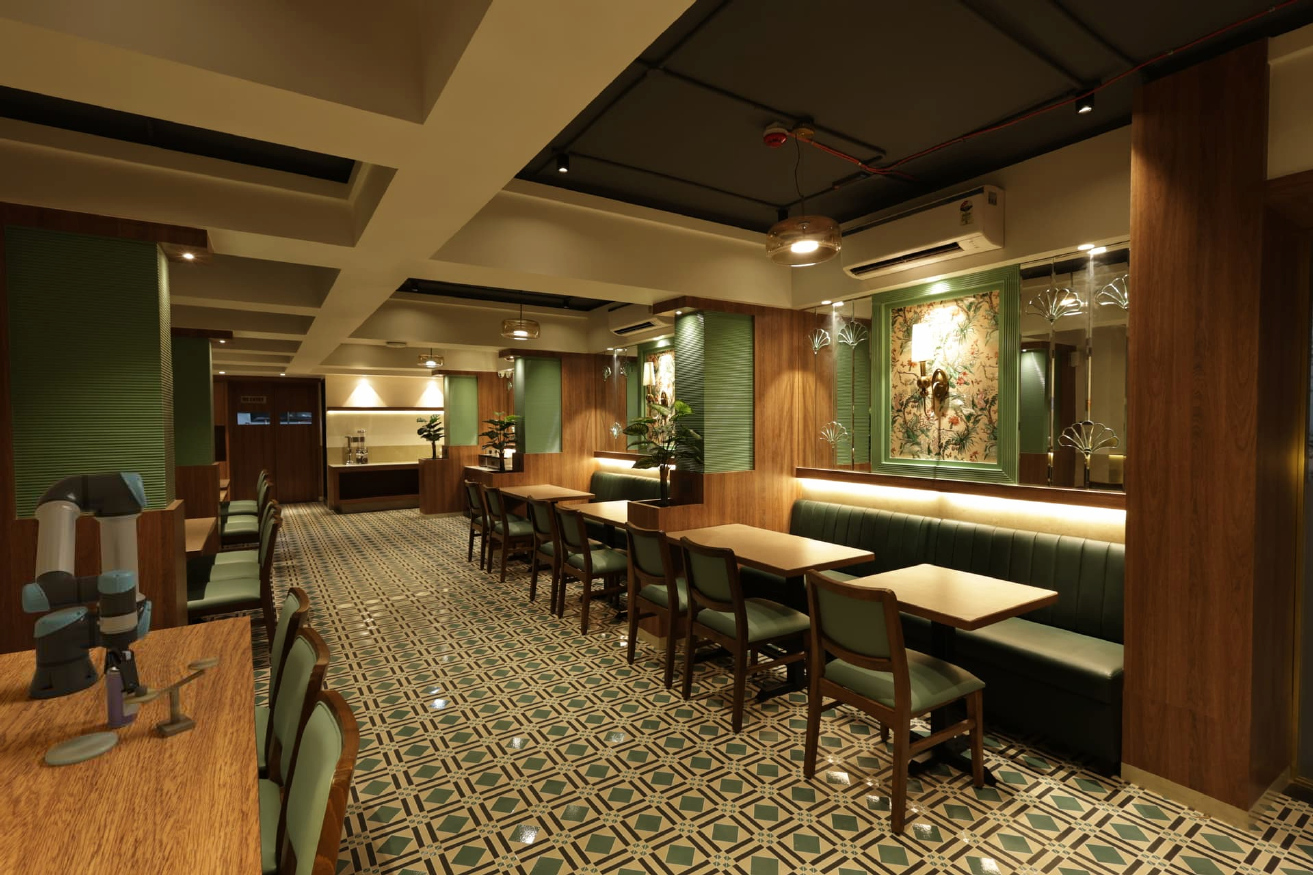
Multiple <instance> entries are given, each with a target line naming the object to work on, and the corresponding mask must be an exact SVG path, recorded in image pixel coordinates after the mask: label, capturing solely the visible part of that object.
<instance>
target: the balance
mask: <svg viewBox="0 0 1313 875" xmlns="http://www.w3.org/2000/svg"><path fill="white" fill-rule="evenodd" d="M220 660H221V659H220V658H218V657H207V658H201V659H198V660H194V661H192V662H190V663H188V665H187V670H188V671H196V672H194V673H193V674H190V675H189V676H187V677H185V678H182V679H181V680H179V681H177V682H174V684H171V685H169V686H168V687H166V688H164V689H162V690H159V689H157V688H148V685H146V684H143V685H140V686H138V687H136V688H135V692H134V693H131V694H129V695H127V696H125V697H124V698H123V703H125V704H135V703H137V704H141V706H143V707H144V706H147V705H149V704H151V703H153V702H154V701H156V700H159V699H160V698H162V697H164V696H165V695H168V697H169V716H170V718H166V719H163V720H159V721H157V722H155V729H156V730H158V732H160V733H161V734H162V735H163V736H165V737H166V738H169V737H172V736H174V735H178V734H179V733H183V732H186V731H188V730H192V729H194V728H195V727H196V721H195V720H193V719H192V718H190V717H189V716H187V715H186V714H185V713H181V709H180V687H182V686H184V685H186V684H188V683H190V682H192V681H194V680H196V679H198V678H199V677H201V676H203V675H205V674H206V672H205V671H206V670H207V669H210V668H214V667H216V666H218V665H219V664H220Z"/></svg>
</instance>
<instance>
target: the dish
mask: <svg viewBox="0 0 1313 875" xmlns="http://www.w3.org/2000/svg"><path fill="white" fill-rule="evenodd" d="M118 742H119V739H118V734H117V733H116V732H112V731H100V732H94V733H89V734H84V735H80V736H78V737H74V738H70V739H68V740H66V741H64V742H61V743H59V744H57V745H56V746H55V745H54V746H53V747H52V748H50V749H49V750H48V751H47V752H46V754H45V755H44V757H45V758H44V762H45V764H46V765H48V766H55V767H57V766H58V767H60V766H69V765H74V764H78V763H81V762H85V761H87V760H90V759H94V758H97V757H98V756H101V755H102V754H105V753H107V752H108V751H110V750H112V749H113V748H114V747H116V745H117V744H118Z"/></svg>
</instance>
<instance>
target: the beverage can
mask: <svg viewBox="0 0 1313 875" xmlns="http://www.w3.org/2000/svg"><path fill="white" fill-rule="evenodd" d="M105 683H106V684H105V686H106V687H105V688H106V708H107V712H106V713H107V725H108V727H109V728H112V729H117V728H118V729H119V728H122V727H127V726H129V725H132V724H133V723H135V722H136V721H137V719H138V712H137V713H134V714H131V715H128V716H125V717H124V712H123V693H121V690H122V689H124V687H123V684H122V680H121V676H120V672H119V670H118V669H116V667H113V668H110V669H109V670H107V674H105ZM131 685H133V684H131Z"/></svg>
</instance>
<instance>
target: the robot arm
mask: <svg viewBox="0 0 1313 875" xmlns="http://www.w3.org/2000/svg"><path fill="white" fill-rule="evenodd" d="M146 498H147V497H146V493H145V488H144V484H143V479H142V476H141V475H140V474H139V473H137V472H121V471H120V472H109V473H107V472H106V473H96V474H94V473H93V474H75V475H70V476H68V477H65V478H62V479H60V480H58V481H57V482H55V483H53V484H52V485H50V486H49V487H48V488H47V489H46V490H45V491H43V493H42V494H41V495H40V496H39V498H38V500H37V502H36V504H35V508H34V517H35V519H36V520H38V533H37V534H38V536H37V548H36V549H37V551H36V565H35V580H34V582H32V583H29V584H26V585H24V586H23V588H22V592H21V593H22V595H21V597H22V599H21V600H22V602H21V603H22V607H23V608H22V609H23V611H24V612H25V613H38V612H39V613H41V612H48V611H49V612H50V611H53V610H54V612H52V613H49V614H47V615H44V616H42V617H41V618H39V619H38V620H37V621H36V622H35V625H34V634H33V637H34V641H35V642H34V644H35V662H36V663H35V665H36V666H35V667H36V668H35V671H34V673H33V676H32V679H31V681H30V683H29V687H28V695H29V698H32V699H49V698H50V699H51V698H56V697H57V698H58V697H61V696H66V695H69V694H74V693H77V692H80V691H82V690H85V689H89V688H90V687H91V686H94V685H95V684H96V683H97V682H99V672H98V670H97V669H96V667H95V664H94V663H93V660H92V659H91V656H90V650H92V649H96V648H102V649H105V657H104V663H103V664H104V665H103V672H102V673H103V674H104V675H106V674H107V670H109V669H110V668H113V667H116V669H118V670H119V672H120V676H121V680H122V684H123V687H124V689H122V690H121V693H123V698H124V697H125V696H127V695H129V694H131V693H134V692H135V688H136V687H138V686H141V684H140V680H139V674H138V670H137V664H136V660H135V659H136V658H135V654H136V653H135V650H133V649H130V647H129V646H130V645H131V644H134V643H136V642H137V641H138V640H142V639H144V638H146V636H147V635H148V633H149V629H150V623H151V614H152V601H151V600H146V595H144V594H143V593H141V592H140V586H139V566H138V565H139V563H138V562H139V561H138V560H139V559H138V540H137V538H138V535H137V519H138V517H140V516H141V515H142V514H143V512H142V511H143V509H145V508H147V507H148V503H147V499H146ZM81 513H92V518H93V519H94V520H96V521H97V522H99V530H100V533H99V534H100V535H99V536H100V551H101V552H100V554H101V555H100V556H101V557H100V558H101V574H96V575H88V576H82V577H75V556H76V555H75V553H76V551H75V549H76V520H78V519H79V517H80V515H81ZM92 604H96V609H91V610H89V609H88V606H87V605H92ZM85 605H86V606H85ZM60 609H61V610H60ZM55 610H57V611H55ZM131 684H133V685H131ZM123 712H124V717H125V716H128V715H131V714H134V713H137V714H138V703H135V704H125V703H123Z"/></svg>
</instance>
